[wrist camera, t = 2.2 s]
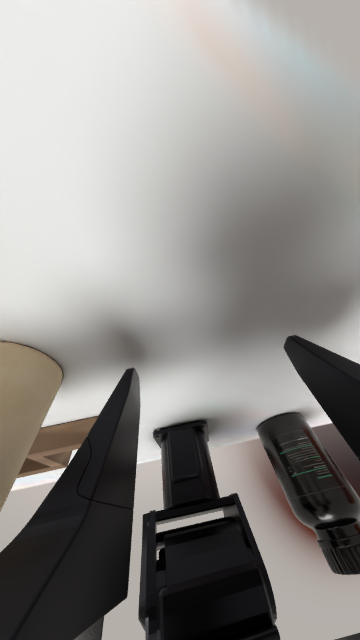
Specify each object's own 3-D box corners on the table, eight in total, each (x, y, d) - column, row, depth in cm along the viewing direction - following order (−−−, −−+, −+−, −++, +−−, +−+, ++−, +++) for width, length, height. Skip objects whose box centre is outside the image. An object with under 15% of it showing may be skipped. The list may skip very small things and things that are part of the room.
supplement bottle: (295, 425, 26) (376, 554, 17) (254, 435, 26) (311, 569, 17) (307, 407, 22) (424, 564, 13) (257, 419, 22) (337, 584, 13)
